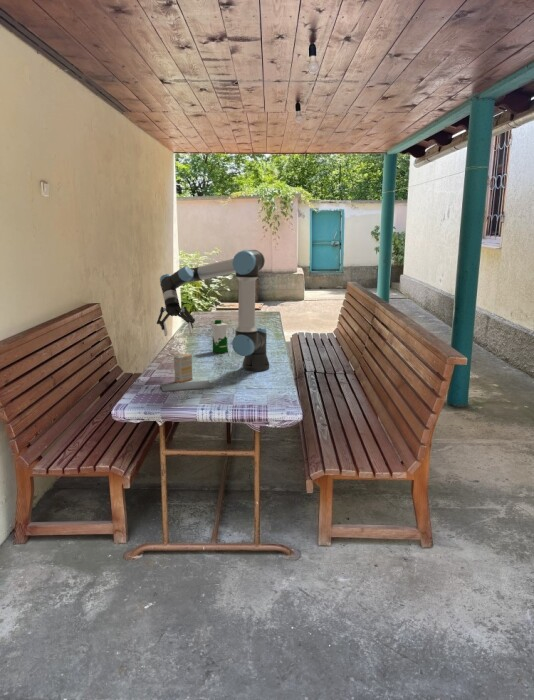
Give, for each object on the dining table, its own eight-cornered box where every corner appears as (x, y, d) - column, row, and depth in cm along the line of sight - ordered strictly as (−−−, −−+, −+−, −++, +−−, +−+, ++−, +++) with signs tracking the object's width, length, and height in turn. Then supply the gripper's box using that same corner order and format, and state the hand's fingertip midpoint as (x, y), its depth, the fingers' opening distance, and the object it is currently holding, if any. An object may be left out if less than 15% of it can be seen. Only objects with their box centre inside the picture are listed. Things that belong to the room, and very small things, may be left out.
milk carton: (222, 350, 339) (222, 319, 335) (230, 352, 332) (229, 321, 327) (210, 351, 334) (210, 320, 329) (218, 354, 327) (217, 322, 322)
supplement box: (186, 378, 273) (185, 353, 270) (192, 379, 270) (192, 354, 267) (174, 381, 266) (173, 356, 264) (180, 383, 263) (179, 357, 261)
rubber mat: (208, 381, 266) (208, 380, 266) (213, 388, 255) (213, 387, 255) (160, 385, 260) (160, 384, 259) (162, 392, 248) (162, 390, 248)
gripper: (191, 304, 292) (199, 337, 283) (146, 304, 280) (153, 338, 271) (195, 296, 286) (203, 329, 277) (149, 296, 274) (156, 331, 265)
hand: (179, 334), depth 274 cm, fingers open, 13 cm apart
